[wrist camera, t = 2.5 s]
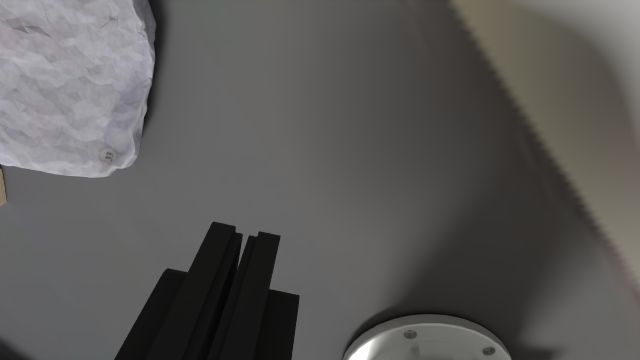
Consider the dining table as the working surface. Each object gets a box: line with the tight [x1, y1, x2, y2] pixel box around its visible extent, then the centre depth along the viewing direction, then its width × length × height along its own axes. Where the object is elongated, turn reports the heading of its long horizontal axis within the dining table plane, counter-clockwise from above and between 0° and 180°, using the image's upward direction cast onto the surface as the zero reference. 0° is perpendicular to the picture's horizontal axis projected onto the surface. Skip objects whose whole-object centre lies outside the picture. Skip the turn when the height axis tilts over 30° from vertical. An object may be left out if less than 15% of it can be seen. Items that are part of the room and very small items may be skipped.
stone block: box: [0, 0, 156, 177], centre depth 21 cm, size 12×5×10 cm
